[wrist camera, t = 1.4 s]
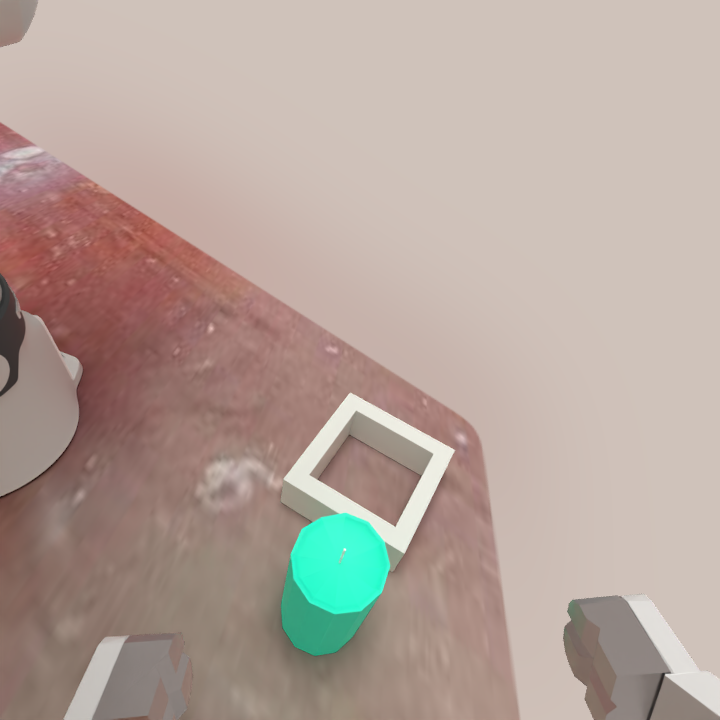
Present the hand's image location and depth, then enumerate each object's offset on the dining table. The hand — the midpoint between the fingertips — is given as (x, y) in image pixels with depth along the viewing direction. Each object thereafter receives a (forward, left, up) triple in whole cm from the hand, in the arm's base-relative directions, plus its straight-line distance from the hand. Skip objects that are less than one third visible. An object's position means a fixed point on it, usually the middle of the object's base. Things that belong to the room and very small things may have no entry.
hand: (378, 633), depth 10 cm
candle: (-3, +8, -29) cm, 30 cm away
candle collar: (-5, +19, -28) cm, 34 cm away
